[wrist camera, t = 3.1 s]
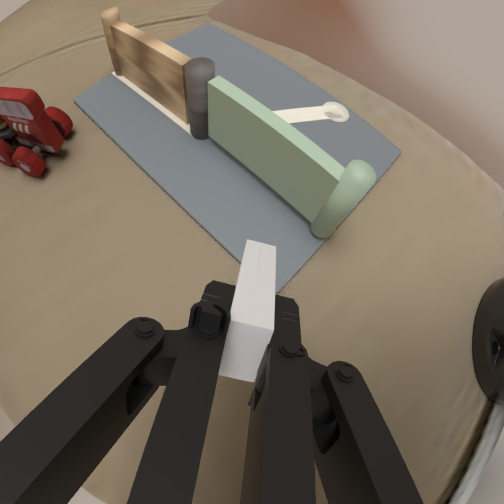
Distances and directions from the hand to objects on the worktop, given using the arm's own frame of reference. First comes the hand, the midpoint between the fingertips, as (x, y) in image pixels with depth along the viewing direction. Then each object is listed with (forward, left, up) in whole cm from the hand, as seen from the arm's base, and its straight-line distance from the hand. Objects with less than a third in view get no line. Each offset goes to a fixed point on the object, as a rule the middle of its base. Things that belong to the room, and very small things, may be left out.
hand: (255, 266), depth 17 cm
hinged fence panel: (+6, -9, -9) cm, 14 cm away
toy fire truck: (+28, +5, -10) cm, 31 cm away
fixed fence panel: (+22, -9, -10) cm, 25 cm away
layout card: (+14, -13, -10) cm, 22 cm away
